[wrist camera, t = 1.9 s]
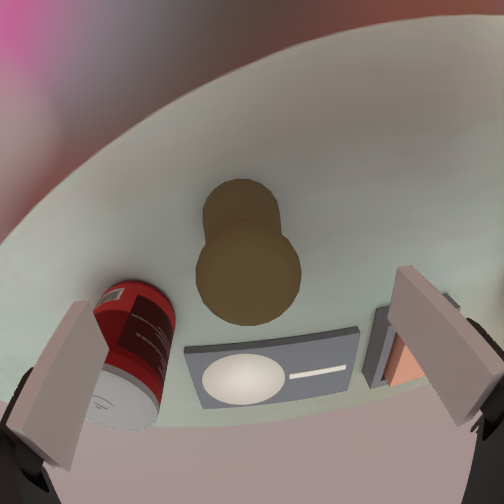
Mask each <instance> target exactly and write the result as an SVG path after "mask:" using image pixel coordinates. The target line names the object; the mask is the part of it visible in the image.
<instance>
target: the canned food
mask: <svg viewBox="0 0 504 504" xmlns="http://www.w3.org/2000/svg"><path fill="white" fill-rule="evenodd" d="M93 314H94V317H95V319H96V321H97V324H98V326H99V328H100V330H101V333H102V335H103V337H104V339H105V341H106V343H107V345H108V348H109V351H108V354H107V356H106V359H105V362H104V364H103V367H102V369H101V372H100V375H99V378H98V380H97V383H96V386H95V389H94V392H93V395H92V398H91V400H90V403H89V406H88V409H87V413H86V416H85V417H86V418H87V419H89V420H91V421H93V422H95V423H97V424H99V425H102V426H105V427H108V428H112V429H116V430H122V431H139V430H143V429H146V428H148V427H150V426H152V425H153V424H154V423H155V421H156V419H157V416H158V413H159V409H160V403H161V399H162V393H163V387H164V381H165V376H166V370H167V365H168V360H169V354H170V349H171V344H172V339H173V334H174V329H175V316H174V312H173V309H172V306H171V304H170V302H169V301H168V299H167V298H166V297H165V296H164V295H163V294H162V293H161V292H160V291H159V290H158V289H156V288H154V287H152V286H151V285H148V284H145V283H142V282H137V281H127V282H122V283H119V284H117V285H115V286H113V287H112V288H110V289H109V290H107V291H106V292H105V294H104V295H103V296H102V298H101V299H100V301H99V303H98V304H97V306H96V308H95V309H94V311H93Z"/></svg>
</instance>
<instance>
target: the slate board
mask: <svg viewBox="0 0 504 504" xmlns="http://www.w3.org/2000/svg"><path fill="white" fill-rule="evenodd" d="M359 337H360V331H359V329H358V327H352V328H347V329H341V330H335V331H329V332H323V333H317V334H310V335H304V336H296V337H289V338H281V339H273V340H265V341H256V342H246V343H236V344H224V345H211V346H196V347H185V350H184V356H185V359H186V362H187V365H188V368H189V371H190V374H191V377H192V380H193V383H194V386H195V389H196V391H197V394H198V397H199V400H200V403H201V405H202V408H203V409H214V408H230V407H243V406H254V405H263V404H272V403H280V402H287V401H294V400H300V399H306V398H312V397H318V396H323V395H328V394H333V393H338V392H343V391H347V390H348V386H349V382H350V378H351V374H352V370H353V365H354V361H355V356H356V352H357V347H358V342H359Z"/></svg>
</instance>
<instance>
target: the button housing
mask: <svg viewBox="0 0 504 504" xmlns="http://www.w3.org/2000/svg"><path fill="white" fill-rule="evenodd" d="M442 295H443V296H444V297H445V298H446V299H447V300H448V301H449V302H450V303H451V304H452V305H453V306H454V307H455V308H456V309H457V310H458V311H460V308H461V307H460V306H459V305H458V304H457V303H456V302H455V301H454V300H453V299H452V298H451V297H450V296H449V295H448V294H447V293H446V294H442ZM389 308H390V306H387V307H382V308H377V310H376V315H375V320H374V324H373V329H372V334H371V338H370V342H369V347H368V351H367V355H366V359H365V363H364V367H363V370H362V372H363V375H364V377H365V379H366V381H367V383H368V386H369V388H370V389H372V388H376V387H380V386H384V385H387V384H388V383H387V381H386V379H385V377H384V375H383V372H384V369H385V366H386V363H387V360H388V357H389V354H390V350H391V347H392V344H393V340H394V337H395V333H396V330H395V329H394V327H393V326H392V324H391V323H390V322H389V320H388V319H387V317H388V312H389Z"/></svg>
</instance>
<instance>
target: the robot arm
mask: <svg viewBox="0 0 504 504" xmlns="http://www.w3.org/2000/svg"><path fill="white" fill-rule="evenodd" d="M387 319H388V320H389V322H390V323H391V324H392V326H393V327H394V329H395V330H396V332H397V333H398V334H399V336H400V337H401V339H402V340H403V342H404V343H405V345H406V346H407V348H408V349H409V351H410V352H411V354H412V355H413V357H414V358H415V360H416V361H417V363H418V364H419V366H420V367H421V369H422V370H423V372H424V373H425V375H426V376H427V378H428V379H429V381H430V383H431V384H432V386H433V387H434V389H435V390H436V392H437V394H438V395H439V397H440V399H441V400H442V402H443V404H444V405H445V407H446V409H447V410H448V412H449V413H450V415H451V417H452V419H453V420H454V422H455V424H456V426H457V427H458V426H460V425H462V424H464V423H466V422H468V421H469V420H471V419H472V418H473V417H474V416H475V414H476V413H477V412H478V411H479V409H480V410H481V411H482V413H483V414H482V415H481V417H480V418H479V419H478V420H477V422H476V423H475V424H474V425H473V426H472V428H471V431H470V432H473V431H474V430H475V429H476V428H477V426H478V425H479V427H478V430H477V431H476V433H478V434H477V441H476V446H475V451H474V457H473V461H472V466H471V470H470V474H469V478H468V483H467V486H466V490H465V493H464V496H463V500H462V503H461V504H504V351H503V350H502V349H501V348H500V347H499V345H498V344H497V343H496V342H495V341H493V339H492V338H491V336H490V335H489V334H487V332H486V331H485V330H484V329H483V328H482V327H481V326H480V325H479V324H478V323H476V322H475V321H473V320H472V319H470V318H466V319H465V317H464V316H463V315H462V314H461V313H460V312H459V311H458V310H457V309H456V308H455V307H454V306H453V305H452V304H451V303H450V302H449V301H448V300H447V299H446V298H445V297H444V296H443V295H442V294H441V293H440V292H439V291H438V290H437V289H436V288H435V287H434V286H433V285H432V284H431V283H430V282H429V281H428V280H427V279H426V278H425V277H423V276H422V275H421V274H420V273H419V272H418V271H417V270H416V269H415V268H414V267H413V266H412V265H409V266H403V267H397V272H396V278H395V283H394V289H393V294H392V299H391V303H390V308H389V312H388V317H387ZM108 351H109V348H108V345H107V343H106V341H105V339H104V337H103V335H102V333H101V330H100V328H99V326H98V324H97V321H96V319H95V317H94V314H93V312H92V309H91V307H90V305H89V302H88V301H78V302H74V303H73V304H72V306H71V307H70V309H69V310H68V312H67V313H66V315H65V316H64V318H63V319H62V321H61V322H60V324H59V326H58V327H57V329H56V330H55V332H54V334H53V335H52V337H51V339H50V340H49V342H48V344H47V345H46V347H45V349H44V350H43V352H42V354H41V356H40V357H39V359H38V361H37V363H36V364H35V366H34V367H31V368H30V369H29V370H28V371H27V372H26V373H25V374H24V375H23V377H22V379H21V381H20V383H19V385H18V388H16V390H15V392H14V396H12V398H11V400H10V402H9V405H8V406H7V409H6V411H5V413H4V415H3V417H2V420H1V422H0V504H61V502H60V500H59V498H58V496H57V493H56V491H55V489H54V487H53V485H52V482H51V480H50V478H49V475H48V473H47V471H46V469H45V468H44V467H43V466H42V465H43V461H45V462H47V463H48V464H49V465H50V466H51V467H53V468H55V469H58V470H62V471H65V472H70V468H71V464H72V460H73V457H74V453H75V449H76V445H77V442H78V439H79V435H80V432H81V428H82V425H83V422H84V419H85V416H86V413H87V409H88V406H89V403H90V400H91V398H92V395H93V392H94V389H95V386H96V383H97V380H98V378H99V375H100V372H101V369H102V367H103V364H104V362H105V359H106V356H107V354H108Z"/></svg>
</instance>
